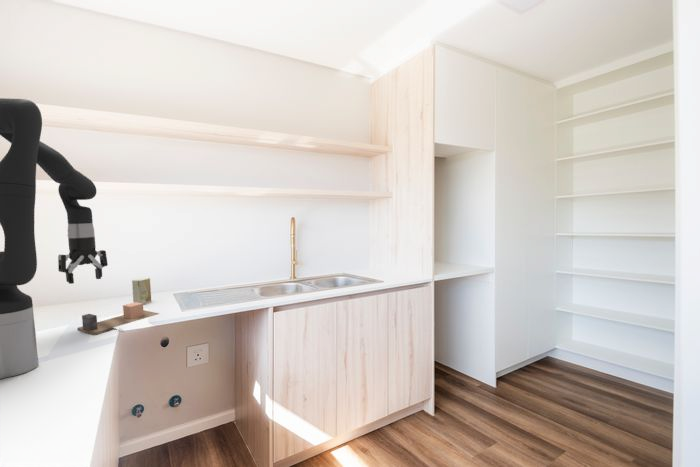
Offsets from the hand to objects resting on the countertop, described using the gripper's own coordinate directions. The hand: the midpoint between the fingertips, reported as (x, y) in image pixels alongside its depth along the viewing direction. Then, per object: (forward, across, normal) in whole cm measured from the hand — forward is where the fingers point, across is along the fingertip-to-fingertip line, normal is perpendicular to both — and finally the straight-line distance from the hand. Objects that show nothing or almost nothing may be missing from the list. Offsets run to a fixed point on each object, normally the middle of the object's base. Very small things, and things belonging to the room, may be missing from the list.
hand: (85, 281), depth 125 cm
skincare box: (+19, +29, +16) cm, 38 cm away
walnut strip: (+18, +11, 0) cm, 21 cm away
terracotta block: (+18, +16, 0) cm, 24 cm away
